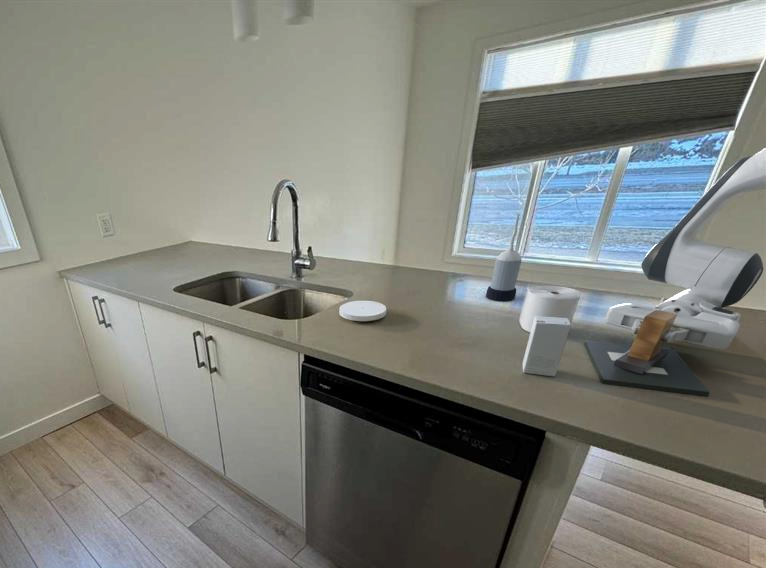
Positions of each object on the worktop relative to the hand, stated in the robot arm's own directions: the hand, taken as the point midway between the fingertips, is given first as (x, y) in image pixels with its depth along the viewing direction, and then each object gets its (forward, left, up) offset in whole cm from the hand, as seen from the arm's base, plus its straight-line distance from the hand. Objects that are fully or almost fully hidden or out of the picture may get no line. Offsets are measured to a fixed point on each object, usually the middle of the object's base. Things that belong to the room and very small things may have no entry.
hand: (651, 334), depth 83 cm
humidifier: (+25, -43, -8) cm, 50 cm away
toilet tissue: (+16, -19, -8) cm, 26 cm away
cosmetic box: (+19, +7, -8) cm, 21 cm away
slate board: (0, -1, -8) cm, 8 cm away
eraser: (0, -1, -7) cm, 7 cm away
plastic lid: (+63, -17, -8) cm, 65 cm away
